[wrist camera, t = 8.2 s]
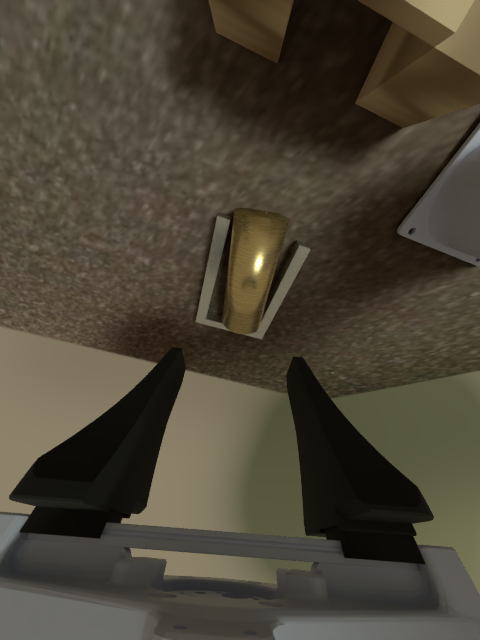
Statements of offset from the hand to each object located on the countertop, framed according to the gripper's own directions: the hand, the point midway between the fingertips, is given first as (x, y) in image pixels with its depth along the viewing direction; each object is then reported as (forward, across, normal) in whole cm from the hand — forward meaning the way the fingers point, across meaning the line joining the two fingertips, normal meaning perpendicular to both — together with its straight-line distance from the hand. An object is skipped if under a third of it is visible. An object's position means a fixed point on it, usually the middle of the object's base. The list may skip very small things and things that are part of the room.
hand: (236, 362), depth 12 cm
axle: (+9, 0, -3) cm, 10 cm away
